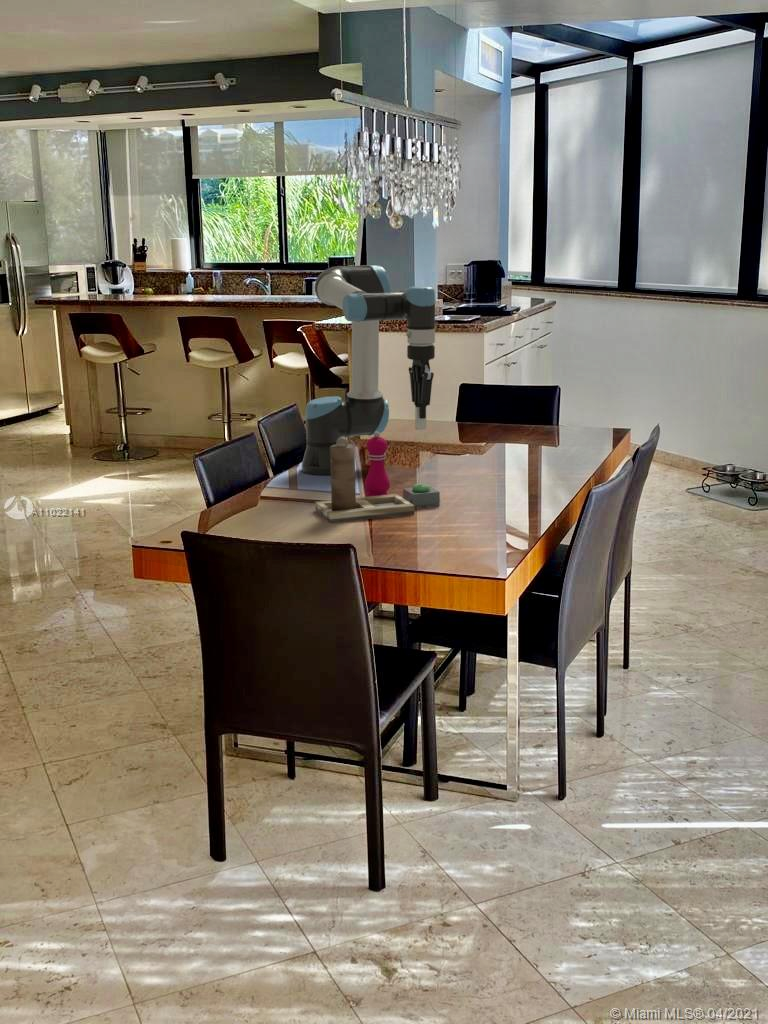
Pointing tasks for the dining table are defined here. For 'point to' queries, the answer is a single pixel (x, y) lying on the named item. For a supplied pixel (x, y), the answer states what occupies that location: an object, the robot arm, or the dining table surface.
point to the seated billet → (342, 475)
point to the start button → (421, 487)
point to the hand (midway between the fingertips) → (420, 429)
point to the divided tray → (367, 508)
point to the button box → (422, 497)
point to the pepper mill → (377, 467)
